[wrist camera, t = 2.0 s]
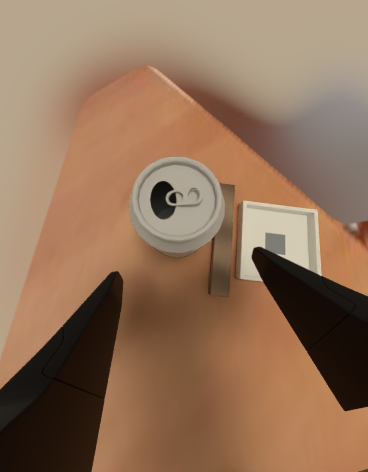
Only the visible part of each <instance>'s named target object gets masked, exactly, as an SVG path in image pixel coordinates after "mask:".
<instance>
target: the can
mask: <svg viewBox="0 0 368 472" xmlns="http://www.w3.org/2000/svg"><path fill="white" fill-rule="evenodd" d="M129 212H130V218H131V222H132V224H133V226H134V228H135V230H136V231H137V233H138V235H139V236H140V237H141V238H142V239H144V240H145V241H146V242H147V243H148V244H149V245H150V246H152V247H153V248H155V249H156V250H158V251H160V252H161V253H163V254H165V255H167V256H170V257H176V258H180V257H185V256H188V255H190V254H191V253H193V252H195V251H196V250H198V249H199V248H201V247H202V246H204V245H205V244H207V243H208V242H210V240H211V239H212V238H213V237H214V236H215V235H216V233H217V232H218V231H219V229H220V227H221V224H222V222H223V219H224V212H225V201H224V198H223V194H222V191H221V187H220V184H219V181H218V180H217V178H216V177H215V176H214V174H213V173H212V171H211V170H209V169H208V168H207V167H206V166H204V165H203V164H202V163H200V162H198V161H195V160H193V159H190V158H186V157H177V156H174V157H168V158H162V159H160V160H158V161H156V162H154V163H151V164H149V165H148V166H147V167H146V168H145V169H144V170H143V171H142V172H141V173H140V174H139V176H138V178H137V180H136V181H135V183H134V185H133V190H132V192H131V196H130V202H129Z"/></svg>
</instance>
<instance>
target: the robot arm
mask: <svg viewBox="0 0 368 472" xmlns="http://www.w3.org/2000/svg"><path fill="white" fill-rule="evenodd" d="M251 258H252V261H253V263H254V265H255V267H256V269H257V271H258V273H259V275H260V277H261V279H262V281H263V282H264V284H265V286H266V287H267V289H268V290H269V292H270V293H271V295H272V297H273V298H274V300H275V301H276V303H277V305H278V306H279V308H280V309H281V311H282V313H283V314H284V316H285V317H286V319H287V321H288V322H289V324H290V325H291V327H292V329H293V330H294V332H295V333H296V335H297V337H298V338H299V340H300V341H301V343H302V345H303V346H304V348H305V349H306V351H307V353H308V354H309V356H310V358H311V359H312V361H313V362H314V364H315V366H316V367H317V369H318V370H319V372H320V373H321V375H322V377H323V378H324V380H325V381H326V383H327V385H328V386H329V388H330V389H331V391H332V393H333V394H334V396H335V397H336V399H337V401H338V402H339V404H340V405H341V407H342V408H343V410H344V411H349V410H354V409H359V408H364V407H368V296H366V295H363V294H361V293H359V292H356V291H354V290H352V289H349V288H347V287H345V286H342V285H340V284H338V283H336V282H334V281H331V280H329V279H327V278H325V277H323V276H320V275H319V274H317V273H315V272H313V271H310V270H308V269H306V268H304V267H302V266H300V265H298V264H296V263H294V262H292V261H290V260H287V259H285V258H283V257H281V256H279V255H277V254H275V253H273V252H271V251H269V250H267V249H265V248H262V247H254V248H253V252H252V256H251ZM122 293H123V279H122V277H121V275H120V273H119V272H118V271H115V272H111V273H110V274H109V275H108V276H107V277H106V278H105V280H104V281H103V282H102V283H101V284H100V285H99V286H98V287H97V288H96V289H95V291H94V292H93V293H92V294H91V295H90V296H89V297H88V298H87V299H86V301H85V302H84V303H83V304H82V305H81V306H80V307H79V308H78V309H77V310H76V312H75V313H74V314H73V315H72V316H71V317H70V318H69V319H68V320H67V322H66V323H65V324H64V325H63V327H61V328H60V329H59V330H58V331H57V332H56V334H55V335H54V336H53V337H52V338H51V339H50V340H49V341H48V342H47V343H46V344H45V345H44V346H43V347H42V348H41V349H40V350H39V351H38V352H37V353H36V355H35V356H34V357H33V358H32V359H31V360H30V361H29V362H27V363H26V364H25V365H24V366H23V367H22V368H21V369H20V370H19V371H18V372H17V373H16V374H15V375H14V376H13V377H12V378H11V379H10V380H9V381H8V382H7V383H6V384H5V385H4V386H3V387H2V388H1V389H0V472H91V471H92V466H93V460H94V455H95V449H96V444H97V439H98V433H99V428H100V422H101V417H102V411H103V406H104V400H105V399H104V398H105V394H106V389H107V383H108V378H109V372H110V367H111V361H112V356H113V350H114V345H115V340H116V334H117V329H118V323H119V318H120V312H121V306H122ZM359 472H368V469H366V470H362V471H359Z"/></svg>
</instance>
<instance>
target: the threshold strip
mask: <svg viewBox="0 0 368 472" xmlns="http://www.w3.org/2000/svg"><path fill="white" fill-rule="evenodd" d="M219 184H220V187H221V191H222V194H223V198H224V201H225V212H224V219H223V222H222V224H221V227H220V229H219V231H218V232H217V233H216V235H215V236H214V237H213V244H212V257H211V269H210V282H209V294H210V295H213V296H221V297H229V285H230V266H231V247H232V229H233V210H234V192H235V185H229V184H221V183H219Z"/></svg>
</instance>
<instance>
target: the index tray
mask: <svg viewBox="0 0 368 472" xmlns="http://www.w3.org/2000/svg"><path fill="white" fill-rule="evenodd" d="M254 247H262V248H265V249H267V250H269V251H271V252H273V253H275V254H277V255H279V256H281V257H283V258H285V259H287V260H290V261H292V262H294V263H296V264H298V265H300V266H302V267H304V268H306V269H308V270H310V271H313V272H315V273H317V274H319V275H320V276H321V261H320V245H319V228H318V212H317V210H313V209H305V208H297V207H290V206H282V205H274V204H266V203H258V202H250V201H243V202H241V203H240V204H239V213H238V234H237V256H236V277H235V278H239V279H245V280H254V281H262V279H261V277H260V275H259V273H258V271H257V269H256V267H255V265H254V263H253V261H252V258H251V256H252V252H253V248H254ZM262 282H263V281H262Z"/></svg>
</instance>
